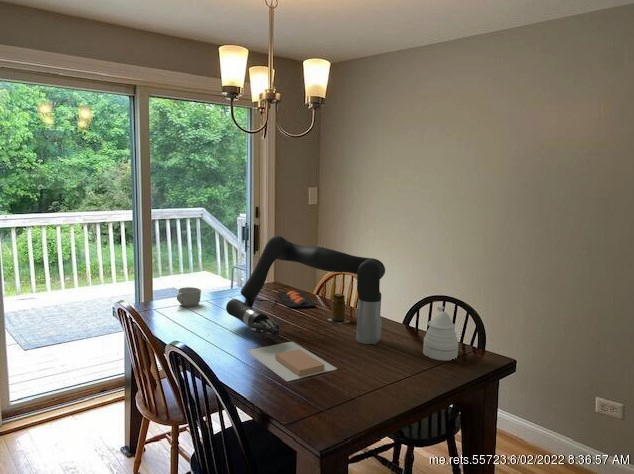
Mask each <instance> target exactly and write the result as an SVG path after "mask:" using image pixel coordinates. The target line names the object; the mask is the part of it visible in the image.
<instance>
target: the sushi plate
mask: <svg viewBox="0 0 634 474" xmlns="http://www.w3.org/2000/svg"><path fill="white" fill-rule="evenodd" d="M277 295H278V296H276V299H275V300H271V299H259V298H255V301H259V302H274V303H273V305H272V306H271V309H270V310H273V309H274V307H275V305H276V304H277V302H278V303H279V302H281V303H284V304H285V305H286V306H287V307H289V308H306V307H315V306H316V304H315V302H314V301H313V300H312V299H311V298H310V297H309V296H308V295H307V294H306V293H305V291H304V292H303V291H300V290H296V291H295V290H289V291H279V292H277ZM279 298H280V299H281V300H278V299H279Z"/></svg>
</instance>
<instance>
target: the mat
mask: <svg viewBox="0 0 634 474" xmlns="http://www.w3.org/2000/svg"><path fill="white" fill-rule="evenodd" d="M298 349H300V350H302V351H303V352H305V353H307V354H308V355H310V356H311V357H313V358H315V359H316V360H318V361H320V362H321V363H323V364H324V370H321V371H317V372H313V373H309V374H304V375H300V376H299V375H297V374H296V373H294V372H293V371H292V370H290V369H289V368H287V367H286V366H284V365H283V364H282V363H280V362H279V361H277V360H276V359H275V354H279V353H283V352H288V351H293V350H298ZM245 351H246V353H248V354H249V355H250V356H252V357H254V359H256V360H258V361H259V363H261V364H263V365H264V366H265V367H267V369H270V370H271V371H272V372H274V374H276V375H278V376H279V377H280V378H282V380H284V381H285V382H289V383H287V385H289V384H293V383H297V382H301V381H307V380H309V379H314V378H319V377H321V376H325V375H331V374H333V373H337V372H338V367H335V366H333V365H332V364H330V363H329V362H327V361H326V360H324V359H322V358H321V357H319V356H317V355H315V354H314V353H312V352H310V350H308V349H306V348H304V347H303V346H301V345H299V344H298V343H296V342H294V341H288V342H282V343H277V344H273V345H268V346H262V347H257V348H252V349H247V350H246V349H245ZM336 370H337V371H336ZM330 371H332V372H330ZM322 373H324V374H322ZM318 374H321V375H318ZM314 375H316V376H314ZM310 376H312V377H310ZM307 377H309V378H307ZM303 378H304V379H303ZM298 379H300V380H298ZM295 380H297V381H295ZM290 381H292V382H290Z"/></svg>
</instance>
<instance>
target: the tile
mask: <svg viewBox="0 0 634 474" xmlns="http://www.w3.org/2000/svg"><path fill="white" fill-rule="evenodd" d="M275 359H276V360H277V361H279V362H280V363H282V364H283V365H284V366H286V367H287V368H289V369H290V370H292V371H293V372H294V373H296V374H297V375H299V376H300V375H304V374H309V373H313V372H317V371H321V370H324V364H323V363H321V362H320V361H318V360H316V359H315V358H313V357H311V356H310V355H308V354H307V353H305V352H303V351H302V350H300V349H298V350H293V351H288V352H283V353H279V354H275Z"/></svg>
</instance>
